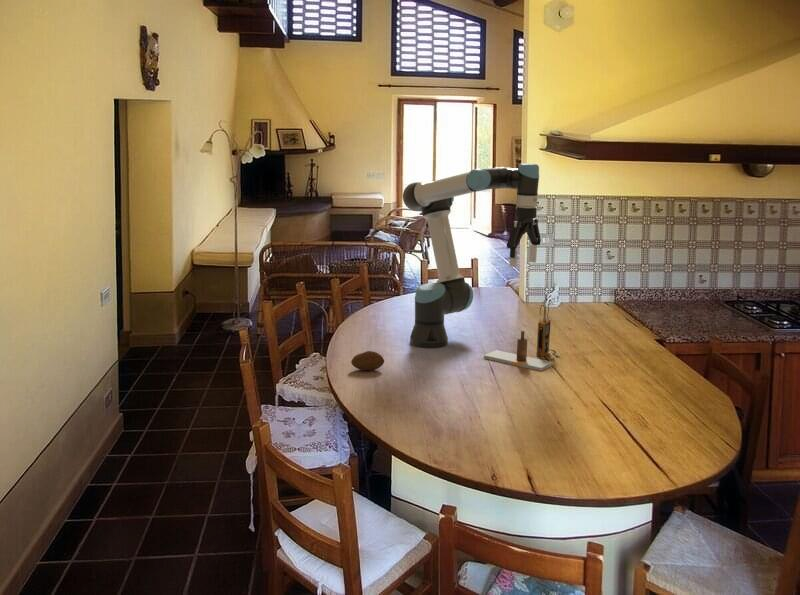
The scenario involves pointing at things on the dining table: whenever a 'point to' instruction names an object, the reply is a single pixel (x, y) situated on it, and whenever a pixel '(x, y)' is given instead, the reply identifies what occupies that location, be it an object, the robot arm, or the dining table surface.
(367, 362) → the potato
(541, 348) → the multimeter
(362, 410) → the dining table surface
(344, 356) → the dining table surface
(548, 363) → the panel
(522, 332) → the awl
